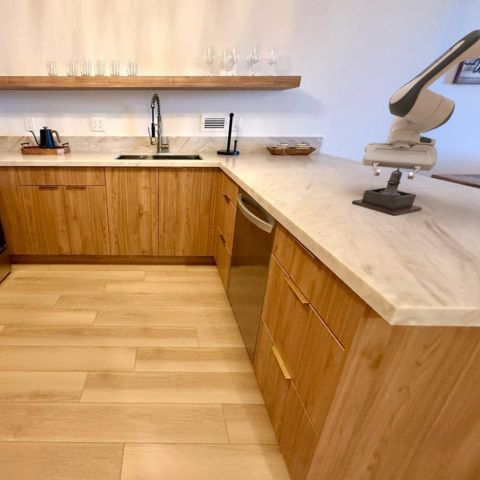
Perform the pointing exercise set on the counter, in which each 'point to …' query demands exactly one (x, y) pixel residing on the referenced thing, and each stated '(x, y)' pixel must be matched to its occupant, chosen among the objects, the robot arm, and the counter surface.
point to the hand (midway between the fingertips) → (393, 176)
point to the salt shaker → (393, 184)
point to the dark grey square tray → (388, 202)
